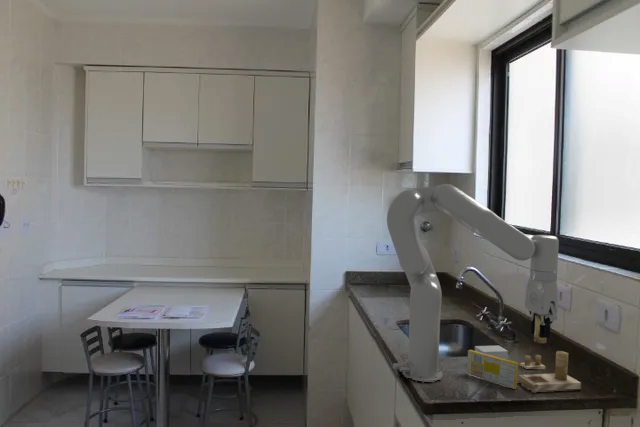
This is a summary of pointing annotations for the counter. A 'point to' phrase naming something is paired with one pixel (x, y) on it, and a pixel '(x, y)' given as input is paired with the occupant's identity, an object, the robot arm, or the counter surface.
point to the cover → (493, 351)
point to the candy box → (492, 368)
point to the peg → (537, 328)
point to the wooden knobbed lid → (532, 363)
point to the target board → (552, 377)
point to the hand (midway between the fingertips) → (540, 334)
